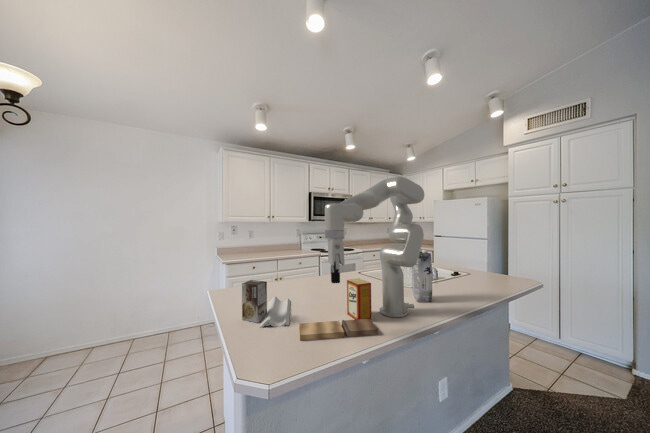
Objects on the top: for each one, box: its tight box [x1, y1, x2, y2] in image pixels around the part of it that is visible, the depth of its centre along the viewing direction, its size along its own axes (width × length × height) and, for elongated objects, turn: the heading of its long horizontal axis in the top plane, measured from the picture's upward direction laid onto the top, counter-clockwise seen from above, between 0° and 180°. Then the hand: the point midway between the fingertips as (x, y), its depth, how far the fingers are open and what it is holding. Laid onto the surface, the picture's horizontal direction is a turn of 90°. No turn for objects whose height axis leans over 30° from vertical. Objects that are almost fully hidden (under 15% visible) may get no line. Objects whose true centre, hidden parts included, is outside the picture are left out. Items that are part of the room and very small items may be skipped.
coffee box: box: [241, 279, 268, 324], centre depth 105 cm, size 9×6×16 cm
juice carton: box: [411, 249, 433, 303], centre depth 129 cm, size 9×10×27 cm
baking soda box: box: [346, 278, 373, 320], centre depth 107 cm, size 10×6×16 cm
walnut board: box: [341, 319, 379, 338], centre depth 93 cm, size 12×10×2 cm
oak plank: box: [298, 320, 345, 342], centre depth 91 cm, size 16×10×2 cm, turn 98°
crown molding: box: [259, 296, 292, 329], centre depth 112 cm, size 31×12×4 cm, turn 7°
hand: (335, 282), depth 93 cm, fingers closed
